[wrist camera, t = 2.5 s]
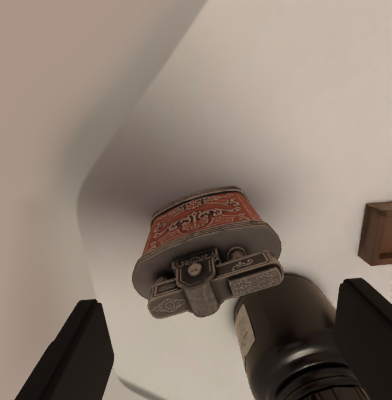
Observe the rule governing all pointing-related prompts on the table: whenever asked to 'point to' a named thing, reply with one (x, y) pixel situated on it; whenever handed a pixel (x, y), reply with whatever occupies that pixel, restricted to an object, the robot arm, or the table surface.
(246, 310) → the ink bottle
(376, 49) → the table surface
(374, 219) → the tray
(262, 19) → the table surface
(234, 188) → the lighter
